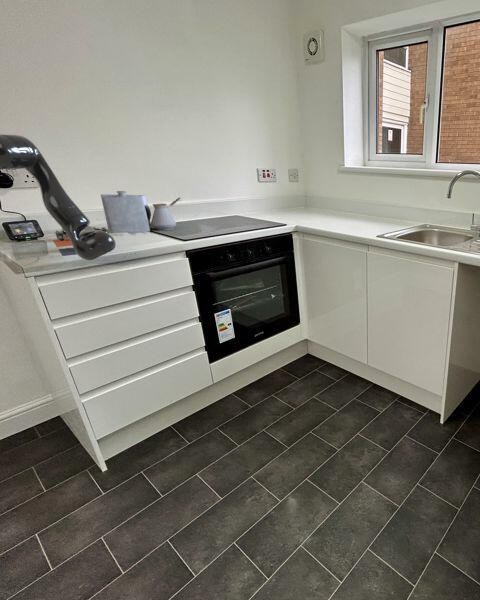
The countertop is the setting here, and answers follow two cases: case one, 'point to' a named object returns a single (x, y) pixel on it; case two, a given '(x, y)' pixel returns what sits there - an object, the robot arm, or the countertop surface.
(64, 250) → the grey mat
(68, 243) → the terracotta mat
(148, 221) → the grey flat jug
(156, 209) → the coffee pot
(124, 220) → the hip flask
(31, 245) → the countertop surface
